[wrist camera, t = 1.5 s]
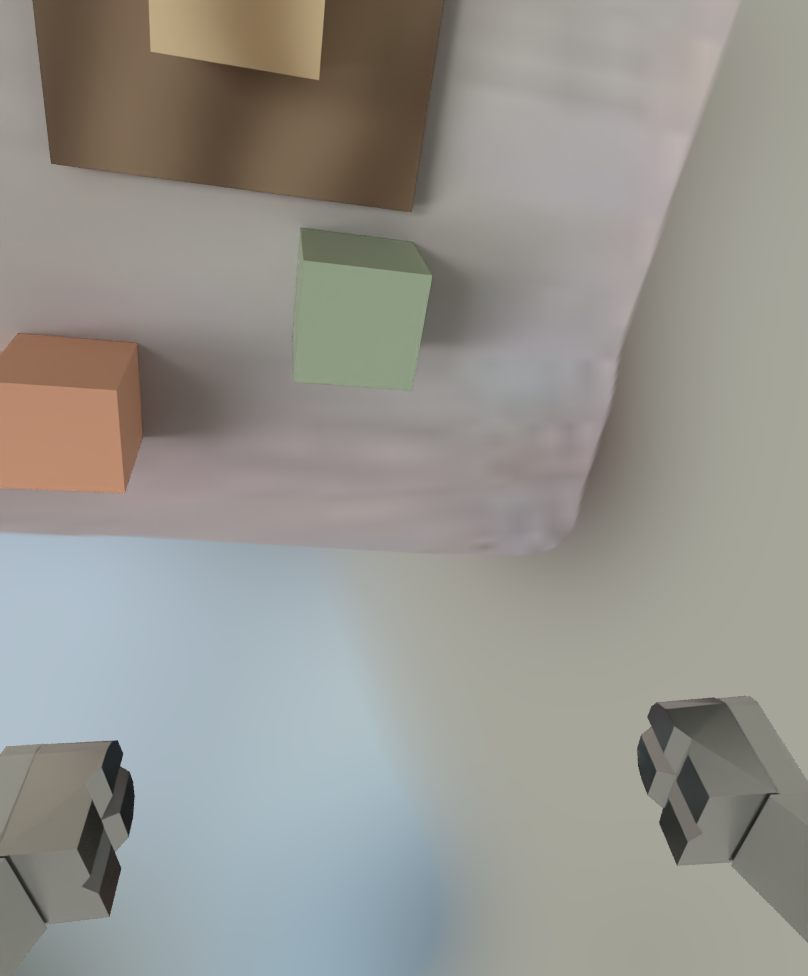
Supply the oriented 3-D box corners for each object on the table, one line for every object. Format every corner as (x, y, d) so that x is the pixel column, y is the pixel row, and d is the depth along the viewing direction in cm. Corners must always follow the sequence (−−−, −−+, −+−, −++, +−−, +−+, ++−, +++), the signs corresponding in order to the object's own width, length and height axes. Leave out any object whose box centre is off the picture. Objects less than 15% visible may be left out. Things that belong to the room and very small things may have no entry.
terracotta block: (34, 430, 33) (0, 488, 29) (18, 332, 31) (-22, 380, 27) (143, 436, 34) (124, 493, 30) (137, 342, 32) (116, 390, 28)
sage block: (292, 336, 33) (294, 381, 29) (300, 227, 30) (303, 260, 26) (395, 345, 34) (411, 391, 30) (412, 241, 31) (432, 275, 27)
